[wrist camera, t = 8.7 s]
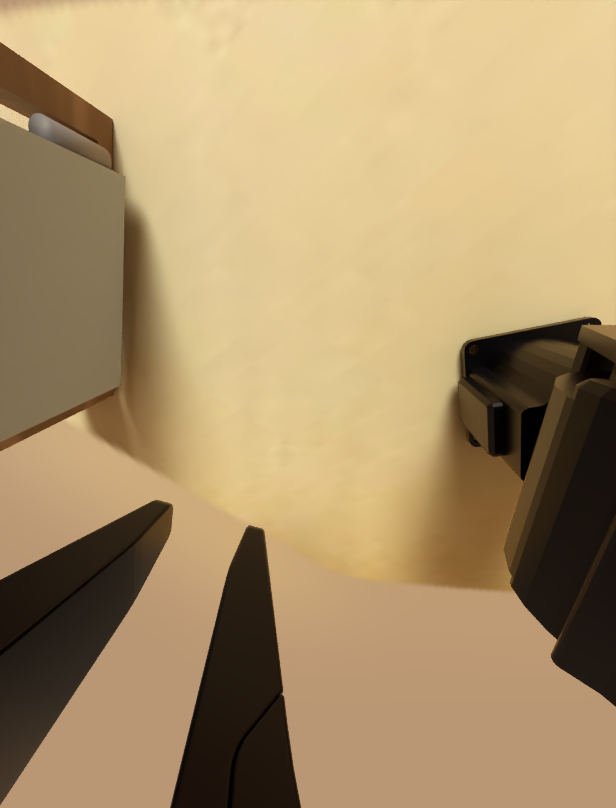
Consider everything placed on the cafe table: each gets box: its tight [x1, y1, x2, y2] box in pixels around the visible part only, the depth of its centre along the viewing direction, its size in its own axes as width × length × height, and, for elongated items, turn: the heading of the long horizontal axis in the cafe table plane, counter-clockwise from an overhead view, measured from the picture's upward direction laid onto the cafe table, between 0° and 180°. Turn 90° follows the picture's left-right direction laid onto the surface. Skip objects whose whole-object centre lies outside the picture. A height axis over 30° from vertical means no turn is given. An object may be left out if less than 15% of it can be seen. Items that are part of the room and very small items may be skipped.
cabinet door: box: [0, 113, 125, 442], centre depth 12 cm, size 2×12×11 cm, turn 165°
